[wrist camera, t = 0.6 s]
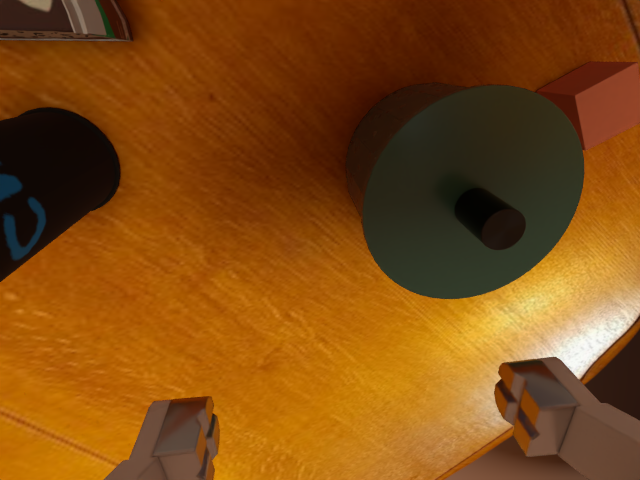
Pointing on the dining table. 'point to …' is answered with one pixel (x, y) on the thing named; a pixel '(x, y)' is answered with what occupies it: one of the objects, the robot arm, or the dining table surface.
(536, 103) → the lid
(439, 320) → the dining table surface
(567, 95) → the block
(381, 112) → the tin
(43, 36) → the food container
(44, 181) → the aerosol can
